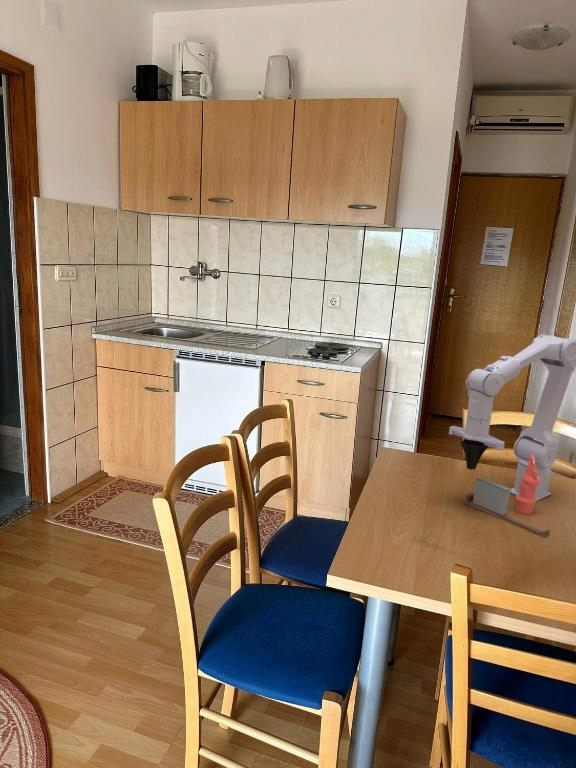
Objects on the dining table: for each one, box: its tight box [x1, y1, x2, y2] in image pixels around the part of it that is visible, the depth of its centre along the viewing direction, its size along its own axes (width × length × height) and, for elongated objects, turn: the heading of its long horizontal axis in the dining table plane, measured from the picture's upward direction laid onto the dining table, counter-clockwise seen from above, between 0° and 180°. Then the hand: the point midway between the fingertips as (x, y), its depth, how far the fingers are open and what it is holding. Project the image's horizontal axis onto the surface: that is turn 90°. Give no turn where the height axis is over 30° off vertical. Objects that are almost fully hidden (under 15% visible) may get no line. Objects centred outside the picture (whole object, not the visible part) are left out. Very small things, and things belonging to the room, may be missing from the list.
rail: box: [464, 491, 551, 539], centre depth 135 cm, size 3×21×2 cm, turn 38°
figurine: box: [515, 455, 540, 515], centre depth 139 cm, size 5×5×15 cm
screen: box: [473, 476, 512, 515], centre depth 138 cm, size 2×9×7 cm, turn 38°
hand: (471, 468), depth 139 cm, fingers closed
